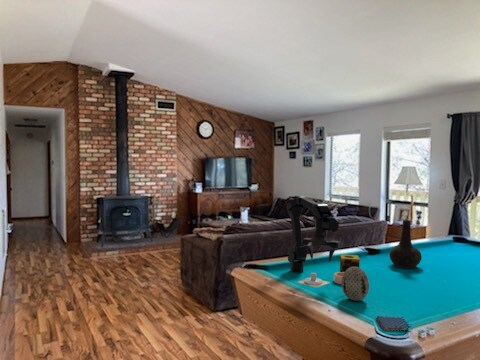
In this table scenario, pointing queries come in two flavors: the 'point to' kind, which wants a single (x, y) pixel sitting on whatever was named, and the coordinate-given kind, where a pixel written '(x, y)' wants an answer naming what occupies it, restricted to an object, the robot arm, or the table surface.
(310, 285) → the mat
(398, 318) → the woven mat
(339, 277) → the bowl
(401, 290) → the table surface
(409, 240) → the dark brown vase
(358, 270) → the decorative egg
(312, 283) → the lid
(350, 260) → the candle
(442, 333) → the table surface
